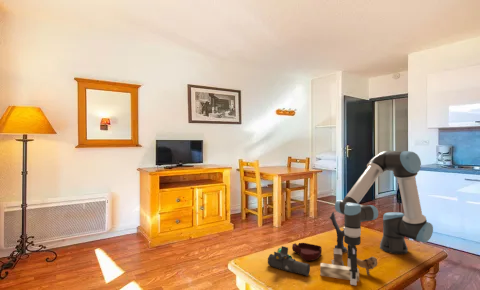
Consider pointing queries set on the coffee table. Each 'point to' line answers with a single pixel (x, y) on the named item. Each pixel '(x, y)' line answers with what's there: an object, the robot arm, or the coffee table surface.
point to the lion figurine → (367, 263)
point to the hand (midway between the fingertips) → (351, 277)
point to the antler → (338, 235)
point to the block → (336, 271)
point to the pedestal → (337, 257)
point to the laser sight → (287, 262)
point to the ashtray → (307, 251)
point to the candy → (280, 250)
